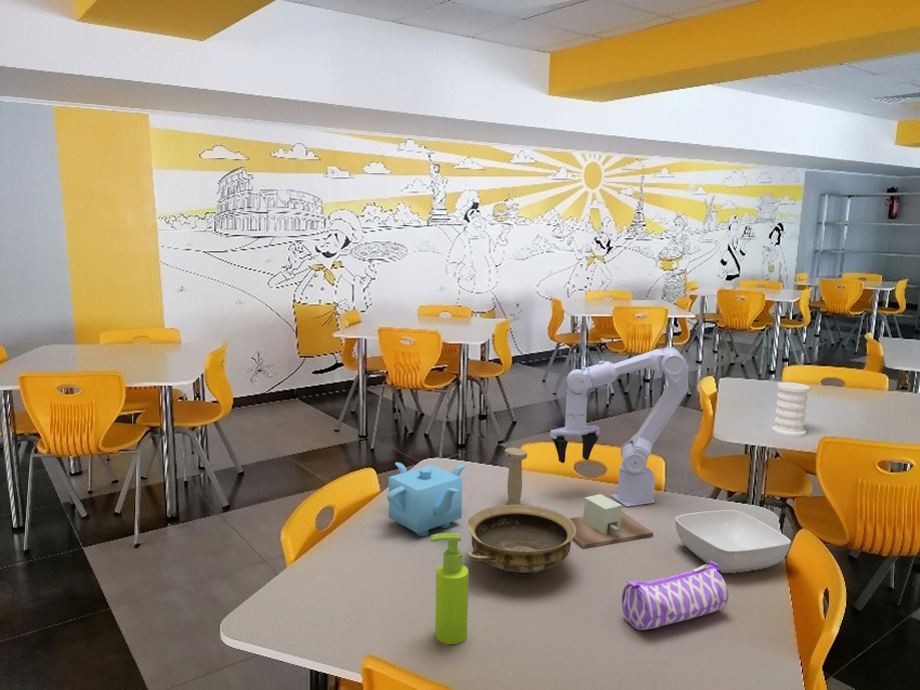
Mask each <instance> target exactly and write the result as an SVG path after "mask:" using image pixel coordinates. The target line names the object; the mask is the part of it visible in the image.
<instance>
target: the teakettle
mask: <svg viewBox="0 0 920 690" xmlns="http://www.w3.org/2000/svg"><path fill="white" fill-rule="evenodd" d="M394 464H395V466H396V467H397V469H398V472H399V473H397V474H395V475H392V476H389V477H388V494H387V496H386V499H387V501H388V518H389V519H391V520H393V521H394V522H397V523H398V524H399V525H400V526H401V527H405V528H407V529H409V530H411V531H412V532H414V533H416V535H417V536H419V537H426V536H429V533H430V532H429V530H432V529H435V528H438V527H440V528H442V529H449V528H451V526H452V525H451V523H452V522H455V521H457V520H460V519H462V505H463V503H462V501H463V478H462V477H461V476H460V475H461V472H462V471H463V470H464V468H466V467H467V464H465V463H463V464H459V465H457V466H456V467H455V468H454V469H453V471H452V472H450V471H447V470H444V469H442V468H440V467H438V466H436V465H427V466H423V467H419V468H416V469H413V470H409V471H408V470H407V468H406V466H405V465H404V464H403V463H402V462H397V461H396V462H395V463H394Z"/></svg>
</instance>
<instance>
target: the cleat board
mask: <svg viewBox="0 0 920 690" xmlns="http://www.w3.org/2000/svg"><path fill="white" fill-rule="evenodd" d="M568 518H569V517H568ZM569 519H570V520H571V521H572V522H573V523H574V525H575V527H576V534H575V536H574V538H573V539H572V540H571V541H573V543H575V544H576V545H578V546H579V547H580V548H581V549H583V550H584V549H588V548H596V547H600V546H605V545H612V544H618V543H623V542H628V541H635V540H641V539H646V538H651V537H654V532H653V531H652V530H650V529H649V528H647V527H646V526H644V525H643V524H641V522H638V520H635V519H634V518H633V517H632V516H629V515H628V514H627V513H625V512H624V511H621V526H620V530H619V528H617V527H616V526H615V525H613V524H612V523H609V524H608V528H607V534H603V533H601V532H599V531H598V530H596V529H594V528H593V527H591V526H589V525H588V524H586V523H584V522H583V515H582V516H576V517H570V518H569Z"/></svg>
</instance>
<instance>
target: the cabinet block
mask: <svg viewBox="0 0 920 690" xmlns="http://www.w3.org/2000/svg"><path fill="white" fill-rule="evenodd" d="M583 498H584V499H583V500H584V502H583V515H582V516H583V522H584V523H586V524H588V525H589V526H591V527H593V528H594V529H596V530H598V531H599V532H601V533H603V534H607V528H608V524H609V523H612V524H613V525H615V526H616V527H617V528H619V530H620V526H621V511H622V509H623V506H622V505H623V504H621V503H619V502H616V501H614V500H613V499H610V498H609V497H608V496H607V497H606V496H605V495H603V494H601V493H598V494H594V495H590V496H586V497H583ZM622 512H623V511H622Z"/></svg>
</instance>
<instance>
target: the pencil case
mask: <svg viewBox="0 0 920 690" xmlns="http://www.w3.org/2000/svg"><path fill="white" fill-rule="evenodd" d="M718 568H719V567H718V564H716V563H714V562H712V561H710V562H709V565H708V564H707V563H706V564H703V565H701V566H700V567H697V568H696V567H695V568H694V569H692V570H689V571H686V572H682V573H678V574H675V575H672V576H668V577H662V578H659V579H658V578H657V579H652V580H647V581H639V580H638V581H637V580H634V581H633V580H632V581H631V580H625V582H626V583H627V584H626V585H625V586H624V588H623V590H622V594H621V609H622V613H623V615H624V617H625V619H626V620H627V622H628V623H629V624H630V625H631V626H632V627H633V628H634V629H636V630H638V631H645V630H650V629H656V628H660V627H662V626H667V625H671V624H675V623H679V622H683V621H687V620H691V619H695V618H698V617H701V616H704V615H709V614H712V613H715V612H717V611H720V610H722V609H724V608H725V607H726V605H727V603H728V601H729V590H728V589H729V588H728V587H727V583H726V582H725V580H724V578H723V576H722V573H720V572H719V571H717V570H718Z"/></svg>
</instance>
